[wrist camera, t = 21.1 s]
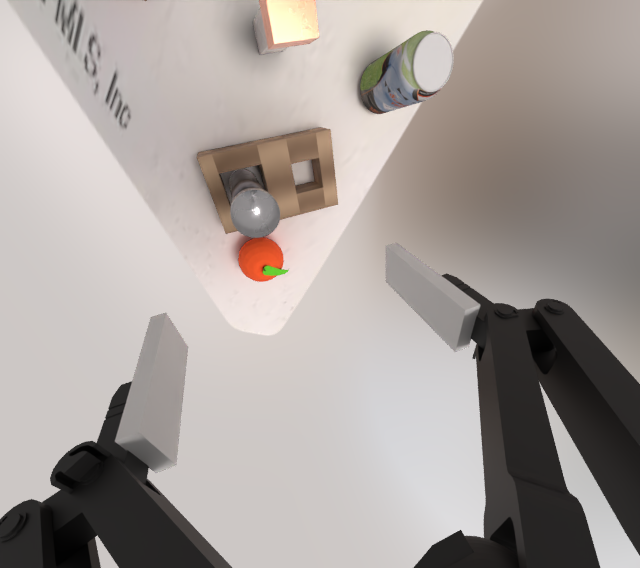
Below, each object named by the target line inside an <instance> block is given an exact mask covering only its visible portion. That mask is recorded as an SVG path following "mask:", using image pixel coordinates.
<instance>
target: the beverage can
mask: <svg viewBox="0 0 640 568" xmlns="http://www.w3.org/2000/svg"><path fill="white" fill-rule="evenodd" d="M452 67H453V50H452V46H451V44H450V42H449V40H448V38H447V37H446V36H445V35H443V34H441V33H439V32H433V31H422V32H420V33H417V34H416V35H414V36H413V37H411V38H410V39H408V40H406V41H405V42H403V43H402V44H400V45H399V46H397V47H396V48H394V49H393V50H391V51H390V52H388V53H386V54H385V55H383V56H382V57H380V58H379V59H377V60H376V61H374V62H373V63H371V64H370V65H369V66H368V67H367V68H366V70H365V71H364V73H363V76H362V79H361V85H360V91H361V97H362V100H363V103H364V104H365V106H366V107H367V108H368V109H369V110H370V111H371V112H373V113H376V114H382V113H386V112H389V111H392V110H396V109H399V108H402V107H406V106H409V105H412V104H416V103H419V102H422V101H426V100H428V99H430V98H432V97H433V96H434V95H436V94H437V93H438V92H439V91H440V89H441V88H442V87H443V86H444V85H445V83H446V82H447V80H448V78H449V77H450V74H451V71H452Z"/></svg>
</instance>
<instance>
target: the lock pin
mask: <svg viewBox="0 0 640 568" xmlns="http://www.w3.org/2000/svg"><path fill="white" fill-rule="evenodd" d="M259 3H260V9H259V11H258V13H257V15H256V17H255V19H254V21H253V26H254V31H255V36H256V40H257V45H258V50H259V55H262V54H269V53H275V52H282V51H284V50H285V49H286V48H287V47H290V46H297V45H304V44H310V43H311V42H313V41H314V40H316V39H317V38H319V32H318V23H317V13H316V4H315V0H259Z"/></svg>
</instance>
